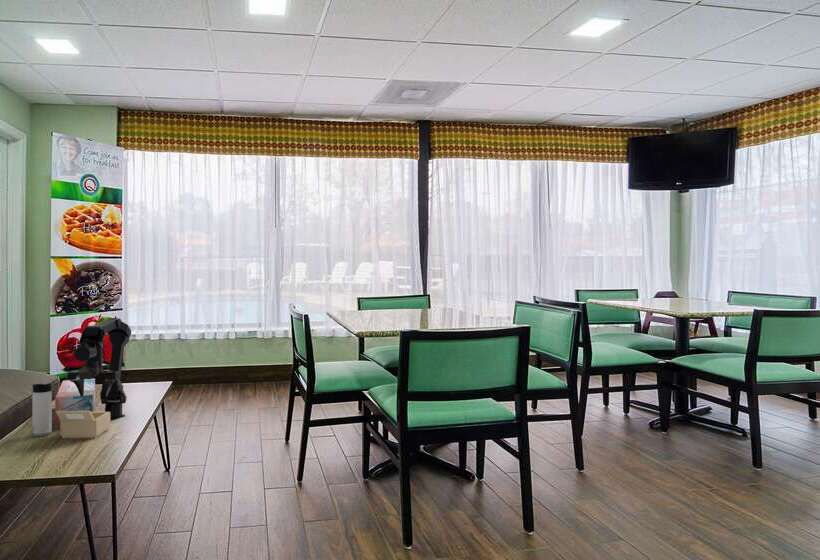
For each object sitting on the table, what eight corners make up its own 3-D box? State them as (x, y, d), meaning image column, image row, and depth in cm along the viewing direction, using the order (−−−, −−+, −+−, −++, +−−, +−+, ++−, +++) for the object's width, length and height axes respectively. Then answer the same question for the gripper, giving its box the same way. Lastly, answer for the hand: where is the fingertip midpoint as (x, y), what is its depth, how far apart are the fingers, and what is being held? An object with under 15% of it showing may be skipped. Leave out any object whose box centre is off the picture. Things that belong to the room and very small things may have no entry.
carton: (76, 429, 236) (76, 411, 236) (110, 429, 237) (110, 411, 237) (60, 438, 224) (60, 419, 224) (96, 438, 225) (96, 419, 224)
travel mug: (29, 437, 225) (29, 384, 224) (35, 432, 231) (35, 381, 230) (48, 436, 226) (48, 384, 226) (53, 431, 233) (53, 380, 232)
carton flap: (56, 410, 219) (55, 412, 219) (89, 410, 220) (89, 412, 220) (61, 419, 224) (61, 421, 223) (94, 419, 224) (94, 421, 224)
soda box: (94, 425, 243) (94, 394, 243) (54, 429, 236) (54, 397, 236) (95, 404, 279) (95, 377, 279) (61, 407, 273) (61, 379, 273)
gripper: (59, 360, 227) (59, 401, 228) (109, 360, 229) (109, 401, 229) (73, 356, 239) (73, 395, 239) (121, 356, 240) (121, 395, 240)
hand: (93, 396), depth 236 cm, fingers open, 9 cm apart
